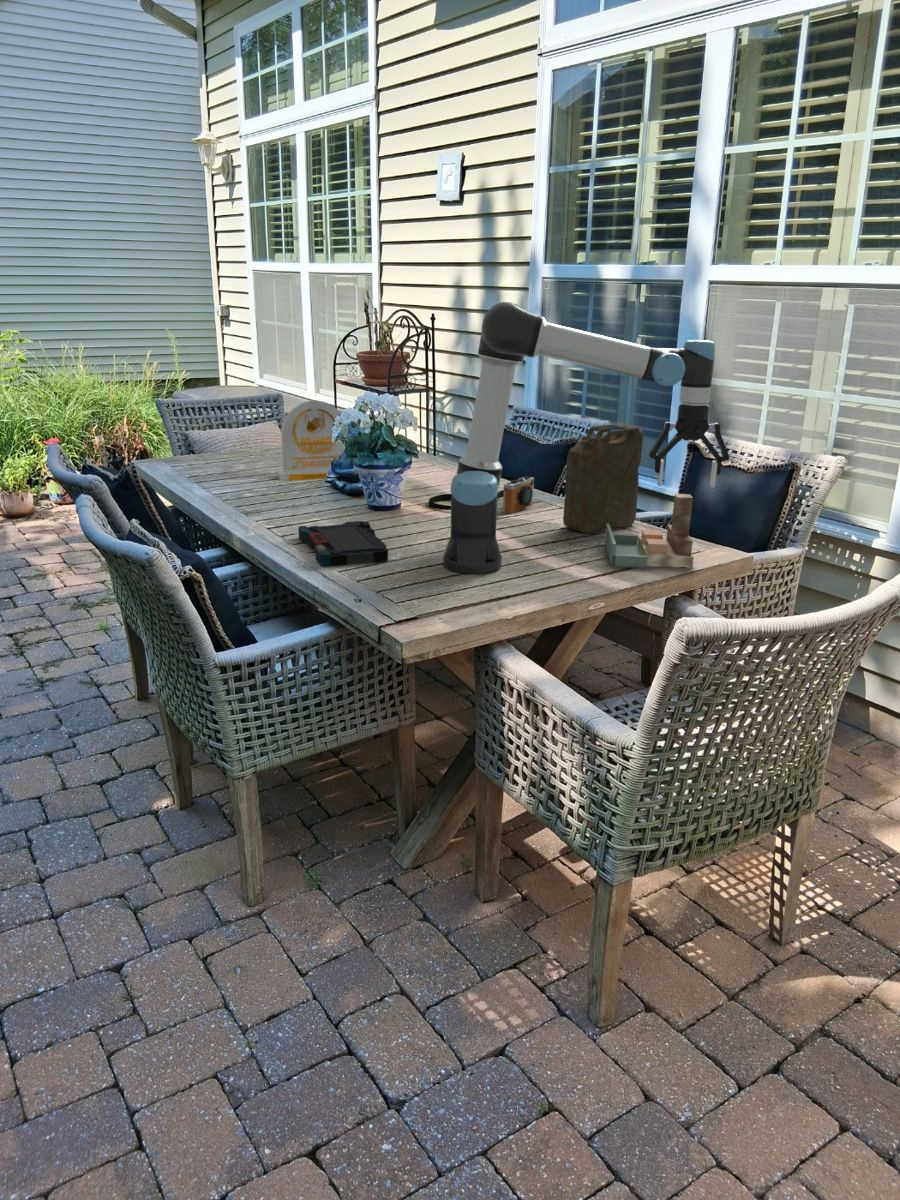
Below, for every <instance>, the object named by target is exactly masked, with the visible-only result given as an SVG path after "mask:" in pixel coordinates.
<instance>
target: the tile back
mask: <svg viewBox="0 0 900 1200" xmlns="http://www.w3.org/2000/svg"><path fill="white" fill-rule="evenodd" d="M640 537H641V539H642V541H643V544H646V539H663V538H664V535H663V533H662V531H661V530H660V529H659V530H656V529H655V530H653V529H642V530H641V536H640Z"/></svg>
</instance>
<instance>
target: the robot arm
mask: <svg viewBox="0 0 900 1200" xmlns="http://www.w3.org/2000/svg"><path fill="white" fill-rule="evenodd" d="M481 324H482V325H481V334H480V339H479V345H478V349H477V355H478V357H479V359H480V361H481V369H480V372H479V373H480V374H479V380H478V385H477V390H476V397H475V402H474V408H473V413H472V418H471V425H470V431H469V434H468V435H469V436H468V442H467V448H466V452H465V454H464V455H463V456H461V457H460V458H459V460H458V466H457V471H456V475H454V476H453V478H452V479H451V483H450V484H451V485H450V494H451V501H450V506H451V510H450V536H449V539H448V541H447V544H446V547H445V551H444V553H443V557H442V559H443V560H442V561H443V563H442V565H443V567H444V568H445V569H447V570H449V571H451V572H452V571H453V572H455V573H460V574H472V575H473V574H475V575H479V574H488V573H493V572H496V571H498V570H500V569H501V568H502V566H503V565H502V564H503V558H502V557H503V556H502V554H501V551H500V546H499V543H498V539H497V518H498V517H497V516H498V514H497V513H498V499H497V494H498V493H499V488H500V483H501V479H502V478H501V476H502V473H503V466H502V464H501V463H500V461H499V458H500V457H499V456H500V451H501V446H502V441H503V438H504V437H503V436H504V430H505V426H506V425H505V424H506V420H507V414H508V410H509V405H510V399H511V393H512V389H513V383H514V378H515V373H516V368H517V367H518V366H520V365H522V364H523V362H524V358H525V357H528V358H533V359H535V358H536V357H537V356H544V357H547V358H552V359H556V360H561V361H565V362H567V363H569V362H570V363H573V364H577V365H582V366H586V367H589V368H594V369H598V370H602V371H607V372H611V373H616V374H619V375H623V376H627V377H632V378H636V379H641V380H644V381H647V382H651V383H655V384H658V385H660V386H664V387H672V386H674V385H677V384H678V383H679V382H680V390H679V402H680V403H679V404H678V410H677V420H676V422H675V423H674V422H669V421H668V420H667V421H665V422H664V424H663V429H662V431H661V433H660V435H659V436H658V438H657V439H656V441H655V443H654V445H653V446H652V447H651V449H650V451H649V453H648V457H649V458H651V459H653V460H655V461H654V472H655V473H657V474H658V475H657V484H656V485H658V486H659V487H662V486H663V477H664V475H663V474H664V465H665V461H664V459H663V458H665V456H667V454H668V453H669V452H671V450H672V449H673V448H674V447H675V446H676V445H677V444H678V443H679V442H681V441H682V440H683V441H686V442H687V441H695V442H698V441H699V440H701V442H702V443H703V445H704V446H705V447H706V448H707V449H708V451H709V453H710V454H711V455H712V457H714V459H715V460H712V462H711V463H712V464H711V472H710V480H709V481H710V482H709V486H710V487H711V488H712V489H713V488H716V487H715V486H716V482H717V481H716V480H717V475H720V473H721V471H722V463H723V462H724V461H728V460H730V455H729V452H728V449H727V447H726V444H725V442H724V439H723V437H722V433H721V424H720V423H718V422H714V423H709V421H708V420H709V411H710V406H709V404H708V403H710V402H711V393H712V392H711V391H712V381H713V374H714V373H713V372H714V364H715V360H716V359H715V350H716V348H715V347H716V346H715V343H714V342H713V341H712V340H709V339H708V340H706V339H688V340H685V342H684V346H683V347H680V348H679V347H678V348H671V347H670V348H667V347H666V348H665V347H650V346H647V345H642V344H637V343H634V342H630V341H626V340H622V339H617V338H614V337H609V336H605V335H602V334H597V333H592V332H588V331H584V330H582V329H581V330H580V329H576V328H572V327H567V326H563V325H559V324H556V323H551V322H547V320H546V319H545V317H544V316H541V315H537V314H534V313H531V312H528V311H526V310H524V308H522V307H521V306H520V305H518V304H517V303H512V302H509V301H508V302H507V301H501V302H498V303H496V304H494V305H492V306H491V307H490V308H489V309H488V310H487V311H486V313H485V315H484V316H483V319H482V323H481ZM673 429H675V430H676V432H677V433H676V434H674V436H673V437H672V438H671V439H670V441H669V442H668V443H666V444H665V446H664V447H662V445H663V443H664V442H665V440H666V439H667V437H668V435H669V433H670V432H672V431H673ZM709 429H710V431H711V432H712V433H713V434H714V438H715V439H716V441H717V445H718V448H719V450H720V452H721V454H719V452H718V451H717V449H715V447H714V446H713V444H712V443H711V442H710V440H709V439H708V437H707V436H706V435H705V434H706V433H707V432H708V430H709ZM661 447H662V448H661ZM660 448H661V450H660Z"/></svg>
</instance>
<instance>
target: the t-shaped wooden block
mask: <svg viewBox="0 0 900 1200" xmlns="http://www.w3.org/2000/svg"><path fill="white" fill-rule="evenodd" d="M693 499H694V497H693V496H692V495H691V494H690V493H689V494H688V493H687V494H686V493H674V500H673V510H672V519H671V524H667V528H666V529H667V530H666V537H665V538H666V539H667V541H668V543H669V544H670V546H671V548H672V550H673V552H674V554H675V555H681V556H691V554H692V550H693V543H694V542H693V539H692V537H691V536H690V535H689V534H690V526H691V518H692V508H693V501H694V500H693Z"/></svg>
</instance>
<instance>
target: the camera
mask: <svg viewBox="0 0 900 1200" xmlns="http://www.w3.org/2000/svg"><path fill="white" fill-rule="evenodd" d="M500 479H505V480H506V479H507V483H504V484H503V490H501V491H498V494H497V500H499V499H501V498H503V500H502V513H505V514H511V515H512V514H514V513H517V512H519V511H521V510H524V509H527V508H529V507H531V506H533V505H534V488H535V477H532V476H529V475H526V476H523V477H516V476H515V477H514V476H513V477H512V476H510V477H509V476H502V475H501V478H500ZM446 501H447V502H448V501H449V502H451V493H444V494H437V495H434V496H433V497H430V498H429V499H428V504H427V505H428V507H429V508H431V509H435V510H445V511H446V510H447V511H451V505H447V504H440V503H438V502H446Z"/></svg>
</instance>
